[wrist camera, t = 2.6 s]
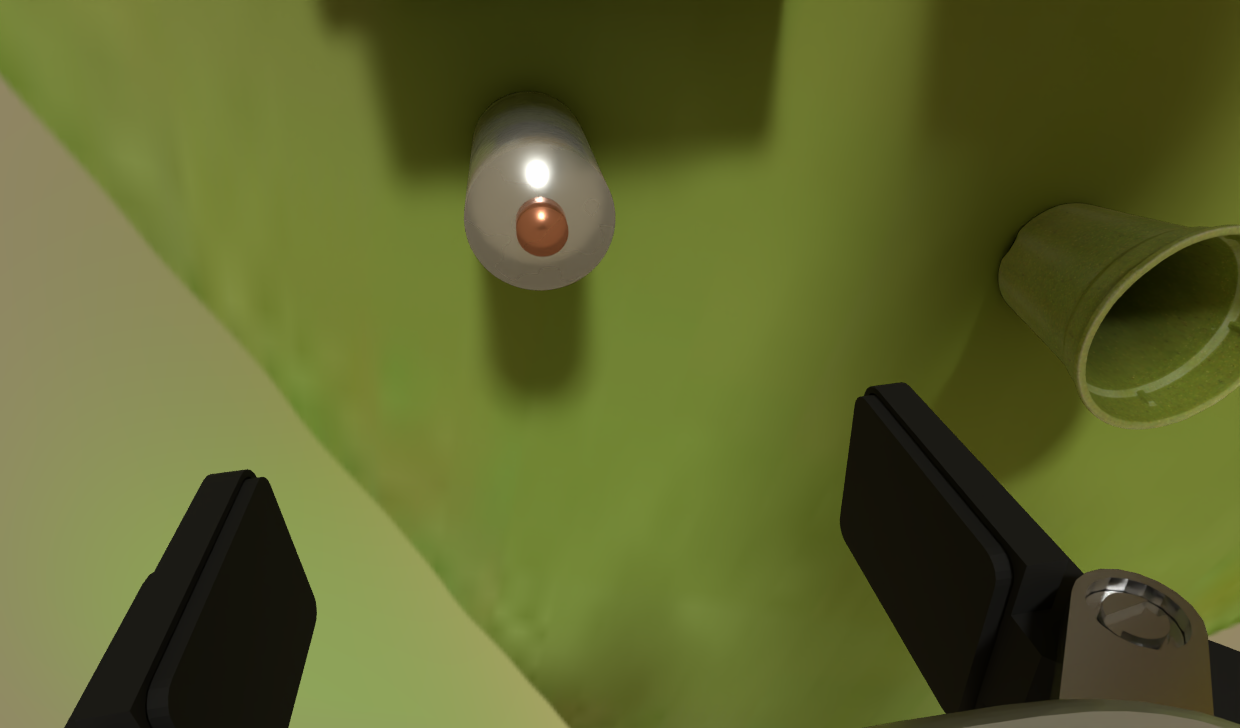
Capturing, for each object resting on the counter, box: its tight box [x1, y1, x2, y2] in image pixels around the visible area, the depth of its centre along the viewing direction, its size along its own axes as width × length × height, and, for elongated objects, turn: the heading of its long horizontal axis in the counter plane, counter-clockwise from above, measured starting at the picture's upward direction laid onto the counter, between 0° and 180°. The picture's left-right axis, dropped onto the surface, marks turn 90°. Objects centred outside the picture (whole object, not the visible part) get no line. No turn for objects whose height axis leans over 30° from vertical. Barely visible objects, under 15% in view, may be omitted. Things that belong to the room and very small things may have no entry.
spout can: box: [464, 91, 615, 290], centre depth 27 cm, size 5×5×10 cm
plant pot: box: [998, 203, 1240, 429], centre depth 34 cm, size 9×9×9 cm
